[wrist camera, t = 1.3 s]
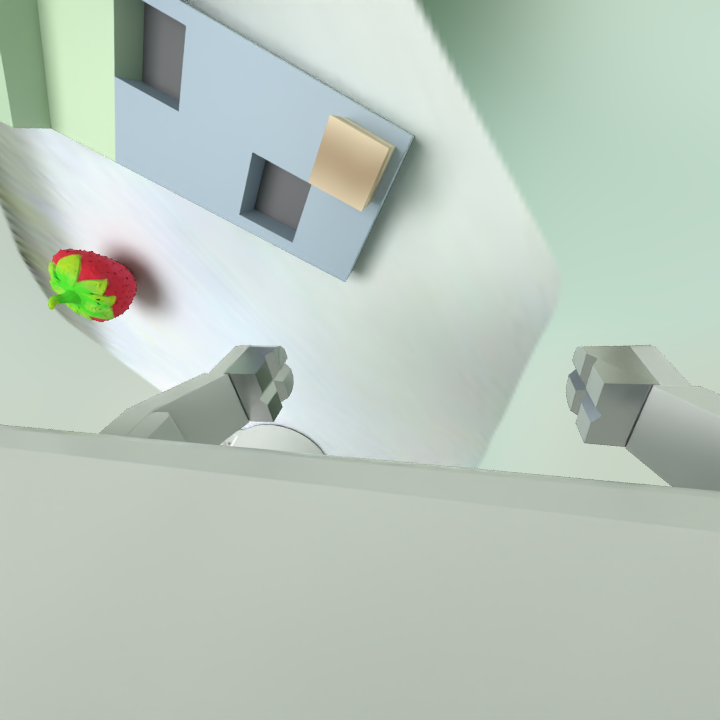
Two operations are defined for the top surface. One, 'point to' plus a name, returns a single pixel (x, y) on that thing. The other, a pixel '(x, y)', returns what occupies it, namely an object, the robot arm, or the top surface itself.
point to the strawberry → (91, 284)
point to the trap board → (191, 114)
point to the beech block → (350, 162)
